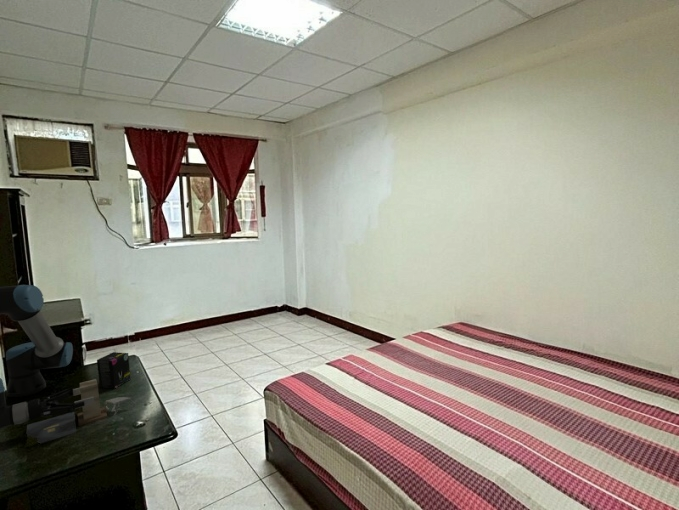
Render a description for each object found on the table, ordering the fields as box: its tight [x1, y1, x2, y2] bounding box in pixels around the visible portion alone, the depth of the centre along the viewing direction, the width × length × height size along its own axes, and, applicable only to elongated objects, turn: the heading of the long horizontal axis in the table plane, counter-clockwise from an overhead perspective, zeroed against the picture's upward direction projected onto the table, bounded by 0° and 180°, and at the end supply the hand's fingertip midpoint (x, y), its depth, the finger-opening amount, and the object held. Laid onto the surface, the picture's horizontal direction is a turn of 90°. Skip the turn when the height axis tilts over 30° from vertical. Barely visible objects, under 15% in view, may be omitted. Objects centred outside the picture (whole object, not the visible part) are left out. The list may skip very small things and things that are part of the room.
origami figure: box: [104, 396, 136, 416], centre depth 166 cm, size 12×8×5 cm
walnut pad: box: [77, 405, 108, 427], centre depth 161 cm, size 10×10×1 cm
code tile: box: [25, 412, 77, 445], centre depth 153 cm, size 20×16×1 cm
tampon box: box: [96, 351, 131, 390], centre depth 191 cm, size 11×9×15 cm
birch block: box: [79, 378, 101, 420], centre depth 160 cm, size 6×6×14 cm
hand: (92, 393), depth 161 cm, fingers open, 13 cm apart
